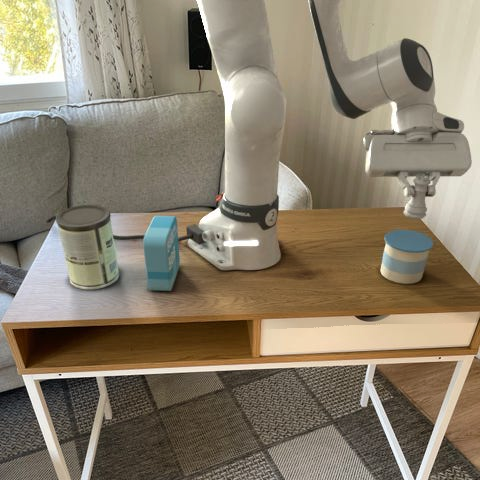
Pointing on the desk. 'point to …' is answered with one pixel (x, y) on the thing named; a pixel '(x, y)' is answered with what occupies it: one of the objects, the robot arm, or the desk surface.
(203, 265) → the desk surface
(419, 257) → the yogurt tub
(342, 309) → the desk surface
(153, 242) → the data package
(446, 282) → the desk surface
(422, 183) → the rook chess piece
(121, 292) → the desk surface
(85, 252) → the coffee can
